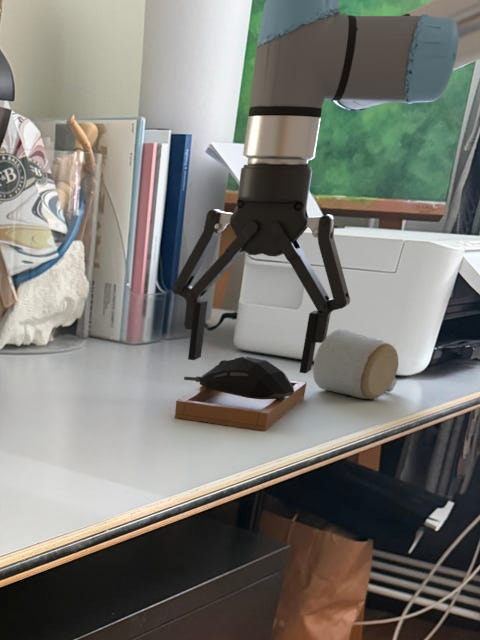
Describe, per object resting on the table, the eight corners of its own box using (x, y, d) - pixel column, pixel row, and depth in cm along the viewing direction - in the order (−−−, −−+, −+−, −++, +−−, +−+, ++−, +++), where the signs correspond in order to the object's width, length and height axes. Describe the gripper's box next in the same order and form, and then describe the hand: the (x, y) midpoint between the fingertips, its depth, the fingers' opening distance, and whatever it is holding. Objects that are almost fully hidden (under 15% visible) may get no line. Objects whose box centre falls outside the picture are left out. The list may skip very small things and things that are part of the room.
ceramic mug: (360, 404, 116) (374, 340, 113) (307, 391, 122) (318, 330, 119) (409, 396, 122) (424, 335, 119) (356, 384, 128) (368, 326, 124)
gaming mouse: (199, 376, 119) (203, 344, 117) (303, 397, 110) (308, 362, 108) (169, 382, 115) (172, 349, 114) (273, 405, 106) (279, 369, 104)
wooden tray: (303, 398, 119) (306, 382, 118) (265, 431, 103) (267, 413, 102) (223, 388, 123) (225, 372, 122) (174, 417, 108) (176, 400, 107)
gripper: (402, 166, 99) (362, 371, 109) (179, 160, 109) (160, 348, 119) (392, 165, 93) (350, 382, 103) (157, 159, 103) (139, 357, 113)
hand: (248, 364), depth 111 cm, fingers open, 13 cm apart
